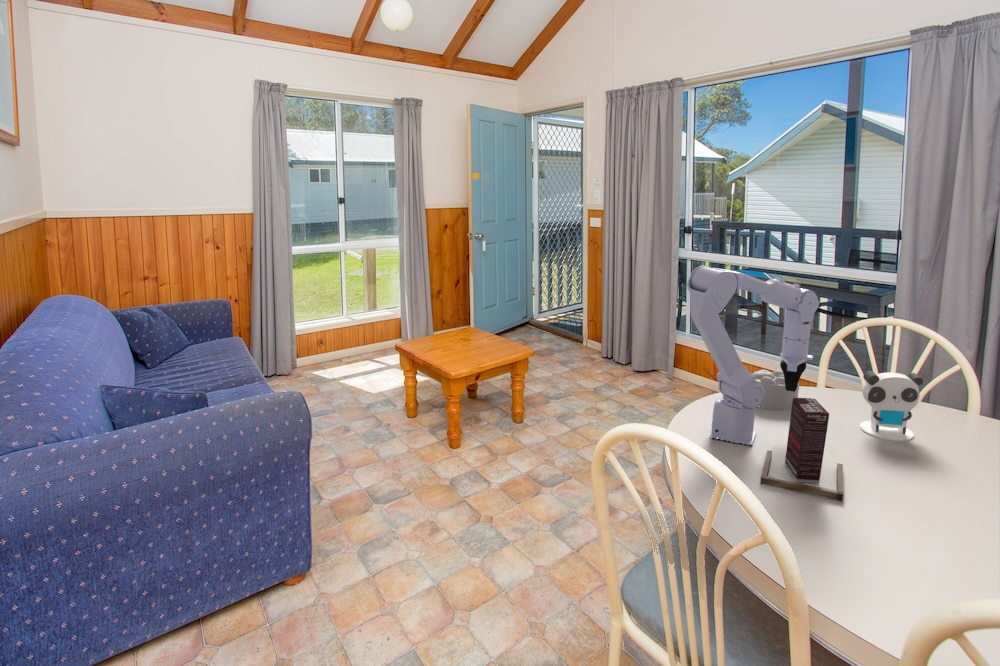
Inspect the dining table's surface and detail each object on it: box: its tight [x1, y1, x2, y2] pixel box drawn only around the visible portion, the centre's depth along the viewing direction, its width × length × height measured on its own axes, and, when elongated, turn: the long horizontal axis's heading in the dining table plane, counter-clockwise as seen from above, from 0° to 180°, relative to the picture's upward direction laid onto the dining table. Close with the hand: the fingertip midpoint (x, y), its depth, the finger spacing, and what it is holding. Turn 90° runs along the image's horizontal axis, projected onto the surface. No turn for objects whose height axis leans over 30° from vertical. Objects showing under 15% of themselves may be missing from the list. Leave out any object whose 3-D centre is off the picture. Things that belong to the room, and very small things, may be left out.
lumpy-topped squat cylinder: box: [751, 369, 800, 412], centre depth 165 cm, size 10×13×9 cm
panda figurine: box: [859, 370, 924, 442], centre depth 146 cm, size 12×11×15 cm
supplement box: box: [784, 397, 830, 485], centre depth 126 cm, size 9×5×16 cm, turn 171°
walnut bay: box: [759, 449, 844, 502], centre depth 126 cm, size 15×14×2 cm
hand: (790, 390), depth 147 cm, fingers closed
